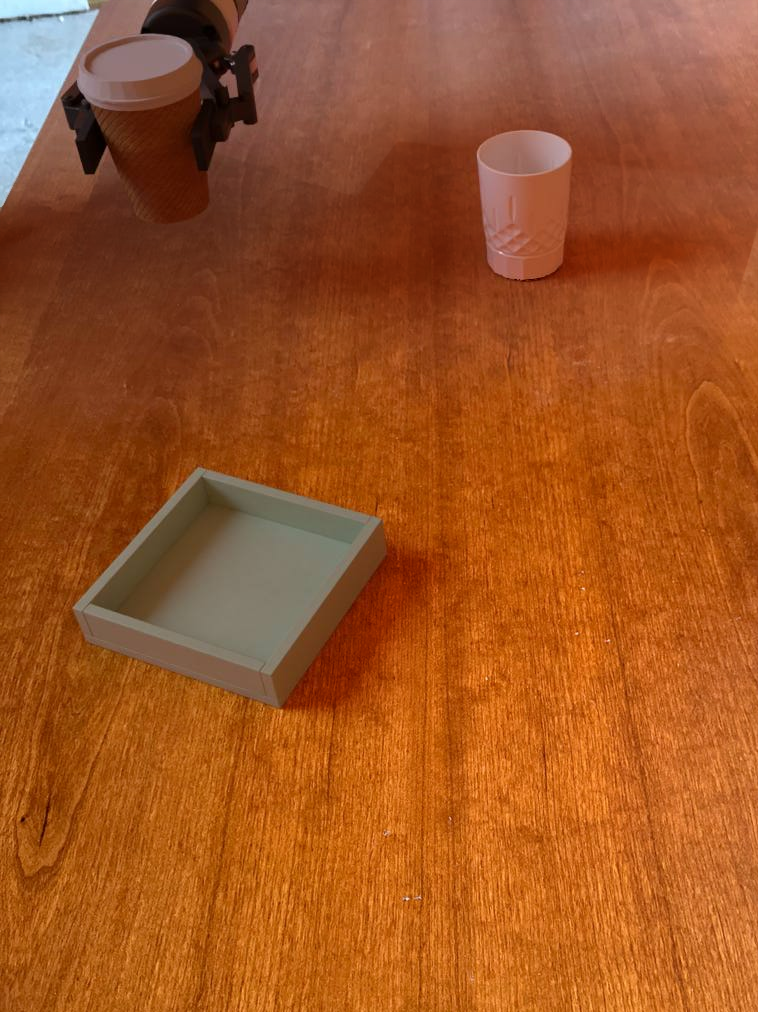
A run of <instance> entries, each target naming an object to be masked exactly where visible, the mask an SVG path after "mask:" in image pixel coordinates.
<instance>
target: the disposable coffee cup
mask: <svg viewBox="0 0 758 1012" xmlns="http://www.w3.org/2000/svg"><path fill="white" fill-rule="evenodd" d="M78 73H79V74H78V76H77V79H76V80H77V85H78V88H79V90H80V91H81V93H82V94H84V96H85V98H86V99H87V101H89V103H90V105H91V107H92V110H93V112H94V115H95V118H96V120H97V122H98V124H99V127H100V129H101V132H102V135H103V137H104V139H105V142H106V144H107V148H108V151H109V154H110V156H111V159H112V160H113V164H114V166H115V168H116V171H117V173H118V175H119V178H120V180H121V184H122V186H123V188H124V190H125V191H124V192H125V193H126V195H127V198H128V200H129V202H130V205H131V208H132V210H133V212H134V213H133V214H134V215H135V216H136V217H137V218H138V219H140V220H142V221H143V222H146V223H151V224H157V225H158V224H159V225H166V224H167V225H168V224H169V225H170V224H177V223H181V222H185V221H188V220H191V219H193V218H195V217H197V216H199V215H201V214H202V213H203V212H205V210H206V209H208V206H209V205H210V201H211V199H210V190H209V178H208V177H209V176H208V171H198V168H197V163H196V159H195V154H194V150H193V145H192V140H191V135H192V132H193V129H194V126H195V123H196V120H197V117H198V114H199V111H200V109H201V105H202V101H201V96H200V83H201V76H202V73H203V66H202V63H201V61H200V60H199V59H198V58H197V57H196V56H195V54H194V51H193V49H192V47H191V45H190V44H189V43H188V42H186V41H185V40H183V39H180V38H178V37H174V36H170V35H161V34H140V33H139V34H138V33H137V34H130V35H125V36H120V37H116V38H112V39H109V40H106V41H104V42H101V43H99V44H96V45H95V46H92V47H91V48H90V49H88V50H86V51H85V53H83V54H82V56H80V59H79V61H78Z"/></svg>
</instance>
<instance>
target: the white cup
mask: <svg viewBox="0 0 758 1012" xmlns="http://www.w3.org/2000/svg"><path fill="white" fill-rule="evenodd" d="M476 161H477V162H476V163H477V172H478V184H479V195H480V196H479V197H480V207H481V208H480V209H481V215H482V226H483V233H484V236H485V242H486V243H485V245H486V257H487V258H486V259H487V265H488V266H489V267H490V268H491V270H492V271H493V272H494V273H495V274H497V275H499V276H501V275H502V276H501V277H503V278H505V279H507V278H509V279H508V280H514V279H517V280H516V281H522V280H523V279H529V278H535V277H541V276H545V275H547V274H549V273H552V272H554V271H555V270H556V269H557V268H558V267H559V266H560V265H561V264H562V263H563V262H564V250H565V249H564V248H565V238H566V234H567V228H568V219H569V207H570V193H571V176H572V164H573V163H572V162H573V148H572V146H571V144H570V143H569V142H568V141H567V140H566V139H565V138H563V137H561V136H559V135H557V134H554V133H551V132H547V131H542V130H531V129H520V130H519V129H518V130H511V131H505V132H502V133H499V134H495V135H494V136H491V137H490V138H488V139H486V140H485V141H483V142H482V143H481V144H480V146H479V147H478V149H477V151H476ZM562 265H563V264H562ZM562 265H561V266H562ZM561 266H560V267H561ZM560 267H559V268H560ZM559 268H558V269H559ZM519 279H520V280H519Z"/></svg>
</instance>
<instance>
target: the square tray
mask: <svg viewBox="0 0 758 1012" xmlns="http://www.w3.org/2000/svg"><path fill="white" fill-rule="evenodd" d="M387 555H388V549H387V541H386V534H385V525H384V520H383V518H381V517H378V516H374V515H371V514H367V513H363V512H359V511H356V510H353V509H349V508H346V507H342V506H339V505H335V504H331V503H327V502H324V501H321V500H317V499H314V498H310V497H307V496H303V495H299V494H296V493H292V492H289V491H286V490H282V489H278V488H275V487H271V486H268V485H264V484H262V483H261V484H260V483H257V482H254V481H250V480H246V479H243V478H240V477H236V476H231V475H229V474H225V473H222V472H218V471H215V470H211V469H207V468H204V467H200V466H197V468H196V469H195V470H194V471H193V472H192V473H191V474H190V475H189V476H188V478H187V479H186V480H185V481H184V482H183V483H182V484H181V485H180V487H178V489H177V490H176V491H175V492H174V493H173V494H172V496H171V497H170V498H169V499H168V500H167V501H166V502H165V504H163V506H162V507H161V508H160V509H159V510H158V511H157V512H156V513H155V514H154V516H153V517H152V518H151V519H150V520H149V521H148V522H147V524H146V525H144V526H143V528H142V529H141V530H140V531H139V533H138V534H136V536H135V537H134V538H133V539H132V541H130V543H129V544H128V545H127V546H126V547H124V549H123V550H122V552H121V553H119V555H118V556H117V557H116V558H115V559H114V560H113V562H112V563H111V564H110V565H109V566H108V567H107V568H106V569H105V571H104V572H102V574H101V575H100V576H99V578H97V579H96V581H94V582H93V584H92V585H91V586H90V587H89V589H88V590H87V591H86V592H85V593H84V594H83V595H82V596H81V597H80V598H79V600H78V601H77V602H76V603H75V604H74V606H72V611H73V613H74V615H75V618H76V621H77V622H78V624H79V627H80V629H81V632H82V634H83V636H84V638H85V640H86V643H89V644H90V645H91V644H92V645H95V646H97V647H100V648H103V649H106V650H109V651H112V652H114V653H117V654H121V655H124V656H126V657H129V658H132V659H135V660H138V661H140V662H144V663H146V664H150V665H152V666H155V667H158V668H160V669H164V670H167V671H170V672H172V673H176V674H178V675H181V676H184V677H187V678H190V679H193V680H196V681H199V682H202V683H205V684H207V685H211V686H212V687H213V686H214V687H216V688H219V689H221V690H225V691H228V692H230V693H233V694H236V695H238V696H242V697H245V698H248V699H251V700H253V701H256V700H257V701H256V702H260V703H262V704H265V705H268V706H271V707H274V708H277V709H282V707H283V706H284V704H285V703H286V701H287V700H288V699H289V697H290V696H291V695H292V693H293V691H294V690H295V688H296V687H297V686H298V684H299V683H300V681H301V679H303V677H304V675H305V674H306V672H307V671H308V670H309V668H310V667H311V665H312V664H313V662H314V661H315V659H316V658H317V656H318V655H319V654H320V652H321V651H322V649H323V648H324V646H325V645H326V643H327V642H328V641H329V639H330V638H331V636H332V635H333V633H334V632H335V631H336V629H337V627H339V624H340V623H341V621H342V620H343V619H344V617H345V616H346V614H347V613H348V612H349V610H350V608H352V606H353V604H354V602H355V601H356V600H357V598H358V597H359V596H360V594H361V593H362V591H363V590H364V589H365V587H366V585H367V584H368V582H369V581H370V580H371V578H372V576H373V575H374V574H375V573H376V571H377V569H378V568H379V567H380V565H381V564H382V562H383V561H384V559H385V558H386V557H387Z"/></svg>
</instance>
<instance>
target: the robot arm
mask: <svg viewBox="0 0 758 1012" xmlns="http://www.w3.org/2000/svg"><path fill="white" fill-rule="evenodd" d="M248 5H249V0H152V2H151V3H150V7H149V10H148V12H147V13H146V16H145V19H144V20H143V22H142V25H141V27H140V31H139V34H161V35H170V36H174V37H178V38H180V39H183V40H185V41H186V42H188V43H189V44H190V45H191V47H192V49H193V51H194V54H195V56H196V57H197V58H198V59H199V60H200V61H201V63H202V66H203V73H202V76H201V83H200V96H201V109H200V111H199V114H198V117H197V120H196V123H195V126H194V129H193V132H192V135H191V140H192V145H193V150H194V154H195V159H196V163H197V168H198V171H207V172H209V169H210V165H211V163H212V159H213V155H214V152H215V149H216V146H217V143H226V142H227V141H228V140H229V137H230V134H231V130H232V129H233V128H234V127H236V126H235V125H236V123H237V122H241V121H242V124H243V125H245V126H254V125H256V124H257V123H258V121H259V120H258V112H257V111H258V110H257V104H256V97H255V90H254V84H255V83H256V82H257V80H258V78H259V77H260V72H259V67H258V61H257V56H256V50H255V46H254V45H253V44H243V45H241V46H240V47H239V48H238V49H237V50H232V48H233V45H234V42H235V39H236V36H237V32H238V28H239V26H240V25H239V24H240V22H241V19H242V17H243V15H244V14H245V11H246V10H247V6H248ZM231 50H232V51H231ZM228 71H230V74H231V75H233V76H235V82H236V89H237V96H235V97H234V96H233V97H231V96H230V93H229V87H228V84H226V85H225V86H224V85H223V84H222V83H221V81H220V79H221V78H222V77H223V76H224V75H226V74H227V73H228ZM60 100H61V104H62V108H63V111H64V115H65V118H66V120H67V124H68V128H69V130H71V131H74V132H75V136H76V137H75V139H74V142H75V146H76V149H77V153H78V156H79V159H80V163H81V166H82V169H83V173H84V175H85V176H87V175H88V176H90V175H91V176H92V175H93V176H94V175H96V172H97V170H98V167H99V165H100V163H101V160H102V159H103V156H104V154H105V151H106V149H107V148H108V146H107V144H106V142H105V139H104V137H103V135H102V132H101V129H100V127H99V124H98V122H97V120H96V118H95V115H94V112H93V110H92V107H91V105H90V103H89V101H87V99H86V98H85V96H84V94H82V93H81V91H80V90H79V88H78V85H77V79H76V80H75V81H74V82H73V83H72V84H71V86H69V88H67V90H66V91H65V92H64V93H63V94H62V96H61V97H60Z"/></svg>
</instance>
